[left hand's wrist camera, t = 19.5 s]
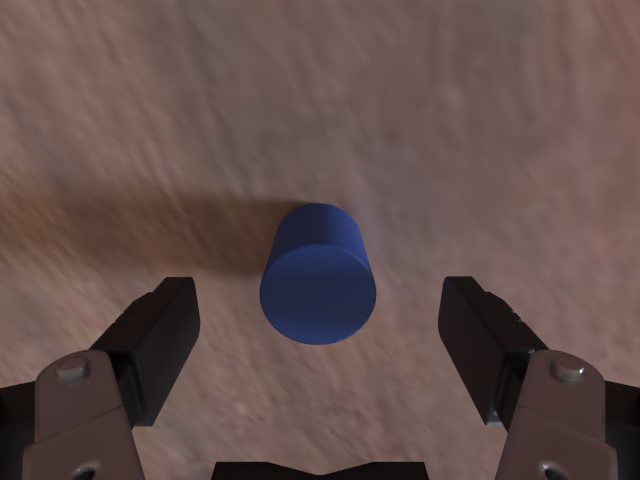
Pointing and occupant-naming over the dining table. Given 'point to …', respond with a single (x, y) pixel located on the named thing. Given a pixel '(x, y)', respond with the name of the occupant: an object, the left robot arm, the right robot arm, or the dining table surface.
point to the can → (318, 277)
